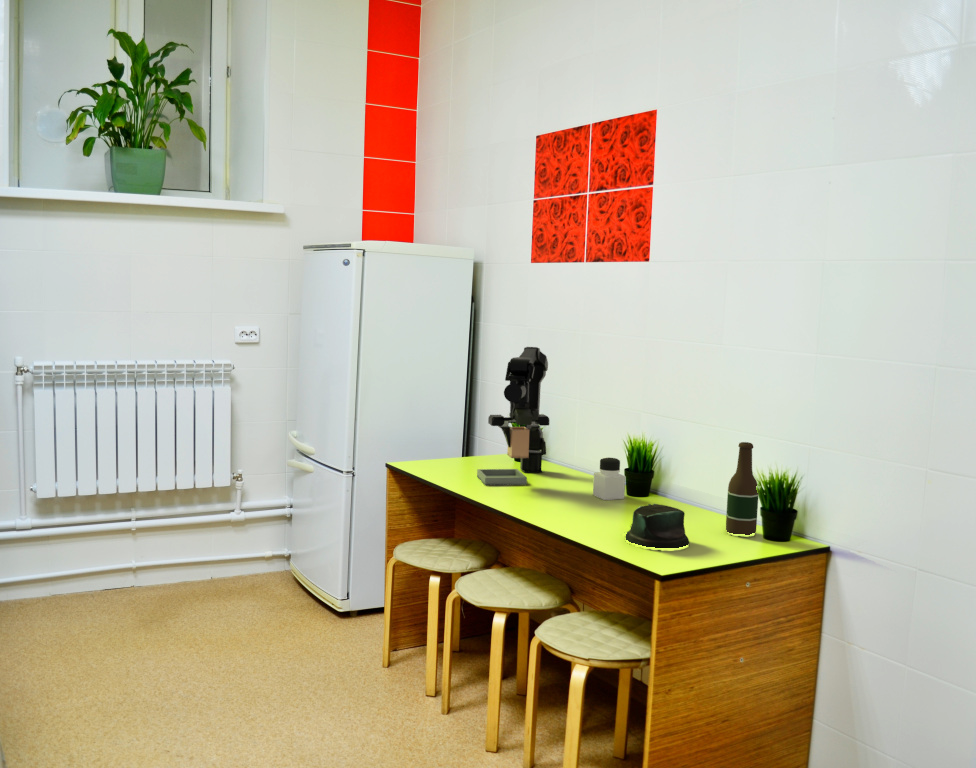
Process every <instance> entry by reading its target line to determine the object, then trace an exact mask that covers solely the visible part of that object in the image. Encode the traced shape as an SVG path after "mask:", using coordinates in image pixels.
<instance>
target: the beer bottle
mask: <svg viewBox="0 0 976 768" xmlns="http://www.w3.org/2000/svg"><path fill="white" fill-rule="evenodd" d="M738 443H739V444H738V447H739V449H738V457H737V466H736V470H735V473H734V474H733V476H731V478H730V480H729V483H728V487H727V500H726V501H727V502H726V513H725V514H726V517H725V518H726V519H725V531H726V530H727V532H729V533H733V534H745V535H750V534H752V533H755V532H756V533H757V524H758V523H757V522H758V509H759V508H758V507H759V492H758V493H757V490H756V486H757V485H758V482H757V480H756V478H755V476H754V474H753V473H754V472H753V448H754V444H753V443H752V442H747V441H742V442H738ZM727 532H726V533H727Z"/></svg>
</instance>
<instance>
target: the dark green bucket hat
mask: <svg viewBox="0 0 976 768" xmlns="http://www.w3.org/2000/svg"><path fill="white" fill-rule="evenodd" d="M685 515H686V514H685V511H684V510H682V509H679V508H678V507H673V506H669V505H666V504H658V503H653V504H650V503H649V504H648V505H640V506H639V507H637V508H635V510H633V513H632V522H631V525H629V527H630V529H629V530H628V531H626V532H627V534H626V536H625V538H626V540H628V541H629V542H631V543H635V544H638V545H642V546H646V547H655V548H679V547H683V546H686V545H688V544H689V545H690V539H689V538H688V536H687V535H686V530H685V529H686V528H685Z"/></svg>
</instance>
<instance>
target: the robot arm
mask: <svg viewBox="0 0 976 768" xmlns="http://www.w3.org/2000/svg"><path fill="white" fill-rule="evenodd" d="M547 357H548V356H547V355H546V354H545V353H543V352H542V351H541V349H540V348H539V347H538V346H526V347H524V348H523V351H522V353H521V354H519V356H518V357H516V356H515V357H512V358H510V360H509V361H508V362H507V366H506V367H507V368H506V373H505V379H504V380H505V382H509V384H508V385H507V386H505V388H504V391H503V395H504V398H505V399H506V400H507V401H508V402H509V404H510V405H509V414H508V415H509V417H507V416H506V417H505V416H503V415H502V414H490V415H489V416H488V419H487V420H488V422H487V424H489V425H490V426H492V427H499V428H500V429H501V431H502V433H503V435H504V438H505V441H506V444H507V448H508V447H510V427H511V426H510V425H509V424H516V425H517V426H522V425H524V427H526V428H527V429H529V458H520V470H521V471H522V473H533V474H534V473H535V474H536V473H544V472H543V470H542V463H543V459H542V458H543V456H545V455H547V444H546V441H545V437H544V432H543V430H542V429H541V427H542V426H543V427H544V426H550V417H549V416H547V415H546V414H543V413H541V414H540V404H541V385H542V382H543V380H544V378H545V377H546V375H547V374H546V373H547V372H548V367H549V361H548V358H547Z"/></svg>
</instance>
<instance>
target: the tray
mask: <svg viewBox="0 0 976 768" xmlns="http://www.w3.org/2000/svg"><path fill="white" fill-rule="evenodd" d="M476 471H477V472H476V477H477V478H478V480H479V481H480V480H481V481H482V482H481V481H480V482H481V483H482V484H483V485H484V486H485V485H486V486H487V485H489V486H490V485H491V486H527V485H528V484H527V483H528V481H527V479H528V478H527V476H526V475H525V474H523V472H521V471H520V470H519V469H518V468H496V469H495V468H486V469H485V468H484V469H483V468H481V469H478V468H477V470H476Z"/></svg>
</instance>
